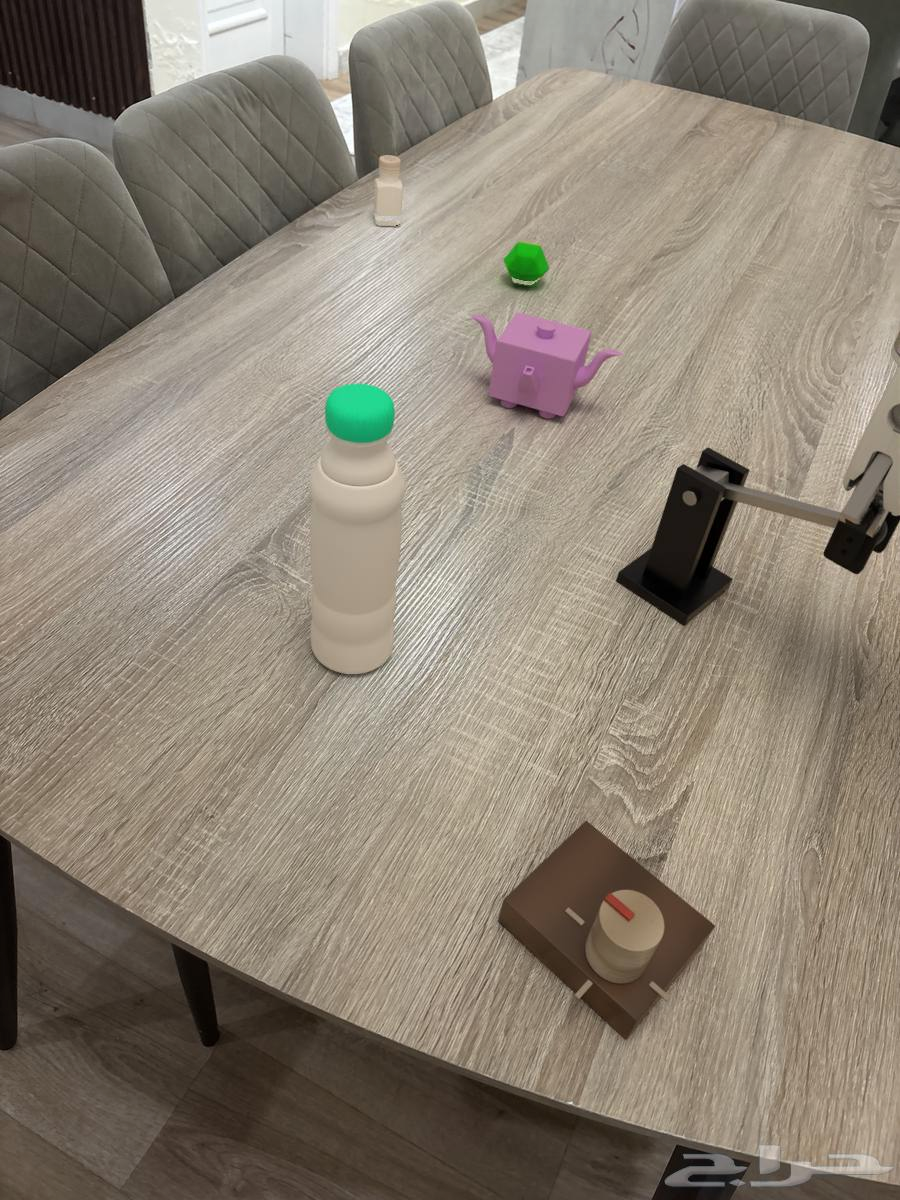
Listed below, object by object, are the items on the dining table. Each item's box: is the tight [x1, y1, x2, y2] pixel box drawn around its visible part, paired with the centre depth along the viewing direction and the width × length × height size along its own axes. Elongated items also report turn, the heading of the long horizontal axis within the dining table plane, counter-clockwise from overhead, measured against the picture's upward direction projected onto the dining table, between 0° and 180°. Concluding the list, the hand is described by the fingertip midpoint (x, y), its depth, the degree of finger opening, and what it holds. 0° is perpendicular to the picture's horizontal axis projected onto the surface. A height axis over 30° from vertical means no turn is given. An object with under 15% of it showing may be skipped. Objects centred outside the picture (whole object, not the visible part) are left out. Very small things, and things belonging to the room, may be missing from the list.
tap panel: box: [497, 820, 716, 1041], centre depth 63 cm, size 12×11×3 cm
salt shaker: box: [373, 154, 404, 227], centre depth 143 cm, size 4×4×10 cm
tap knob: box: [585, 890, 664, 984], centre depth 58 cm, size 4×4×5 cm
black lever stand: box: [615, 446, 751, 626], centre depth 86 cm, size 8×8×14 cm
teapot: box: [470, 311, 623, 420], centre depth 109 cm, size 18×13×10 cm
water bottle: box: [308, 382, 406, 675], centre depth 72 cm, size 7×7×25 cm
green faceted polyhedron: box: [503, 241, 550, 287], centre depth 134 cm, size 7×6×9 cm
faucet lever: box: [694, 465, 888, 545], centre depth 78 cm, size 17×3×3 cm, turn 46°
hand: (853, 552), depth 76 cm, fingers closed on faucet lever, 3 cm apart
